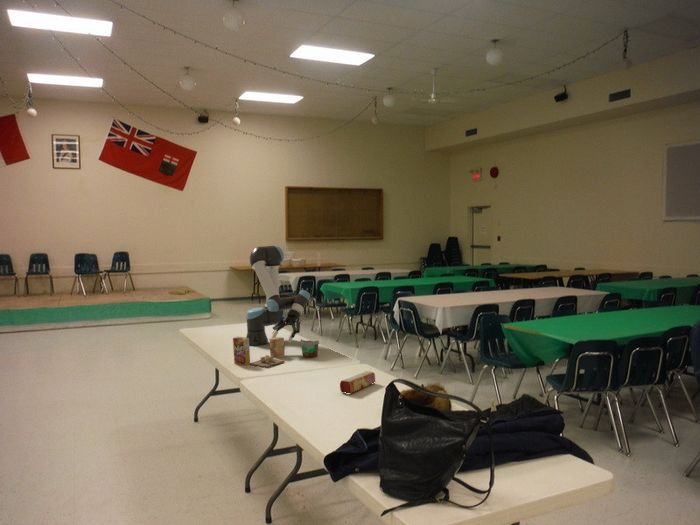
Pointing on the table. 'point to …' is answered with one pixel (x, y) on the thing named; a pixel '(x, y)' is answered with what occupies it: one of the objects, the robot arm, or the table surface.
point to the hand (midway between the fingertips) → (280, 340)
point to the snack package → (357, 382)
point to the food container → (309, 348)
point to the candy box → (241, 350)
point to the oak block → (277, 347)
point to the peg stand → (267, 362)
